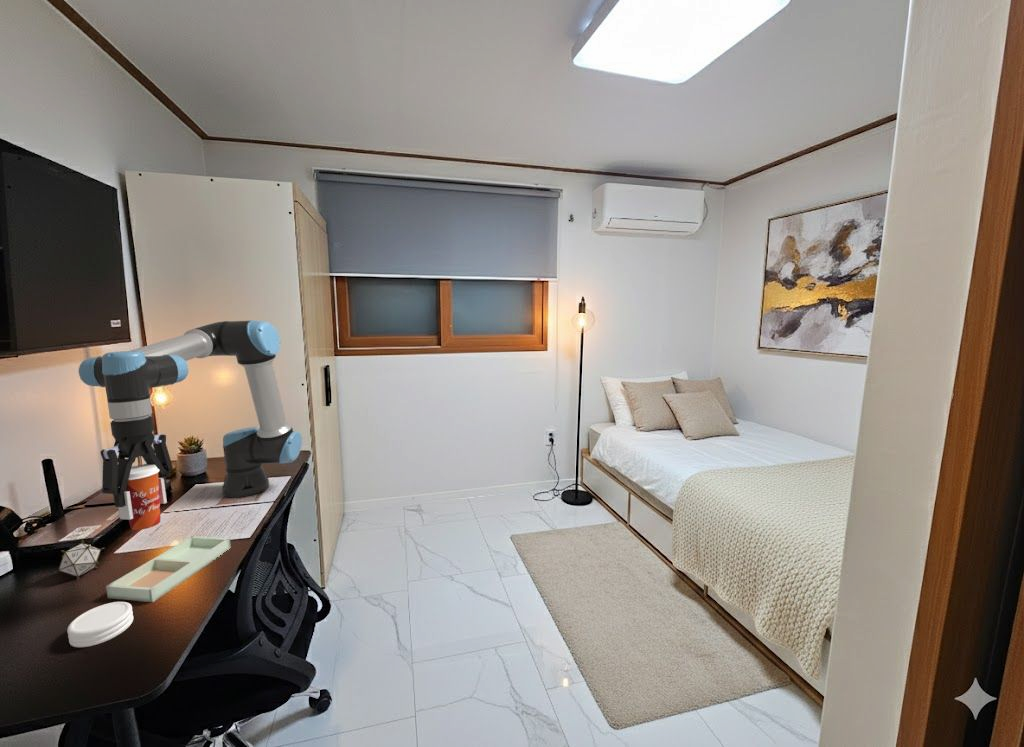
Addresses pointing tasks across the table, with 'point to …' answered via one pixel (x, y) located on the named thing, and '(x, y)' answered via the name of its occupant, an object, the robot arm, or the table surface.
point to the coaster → (100, 624)
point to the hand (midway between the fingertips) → (144, 510)
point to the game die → (79, 560)
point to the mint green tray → (168, 569)
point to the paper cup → (144, 496)
